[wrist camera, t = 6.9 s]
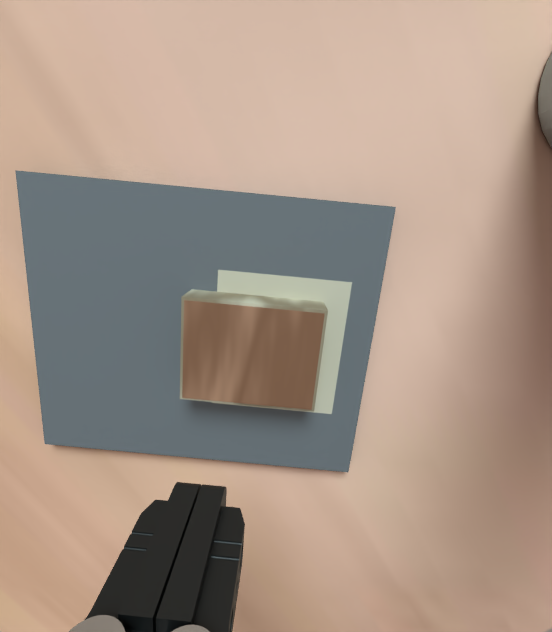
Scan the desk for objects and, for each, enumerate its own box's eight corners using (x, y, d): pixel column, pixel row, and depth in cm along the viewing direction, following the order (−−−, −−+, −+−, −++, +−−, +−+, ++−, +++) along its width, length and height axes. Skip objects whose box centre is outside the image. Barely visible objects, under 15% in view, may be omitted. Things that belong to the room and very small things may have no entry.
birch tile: (191, 289, 23) (323, 301, 23) (189, 382, 25) (311, 393, 25) (180, 297, 20) (328, 311, 20) (179, 400, 22) (314, 412, 22)
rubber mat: (390, 207, 22) (395, 207, 21) (345, 463, 27) (348, 472, 26) (27, 172, 22) (15, 170, 21) (53, 436, 27) (44, 444, 26)
